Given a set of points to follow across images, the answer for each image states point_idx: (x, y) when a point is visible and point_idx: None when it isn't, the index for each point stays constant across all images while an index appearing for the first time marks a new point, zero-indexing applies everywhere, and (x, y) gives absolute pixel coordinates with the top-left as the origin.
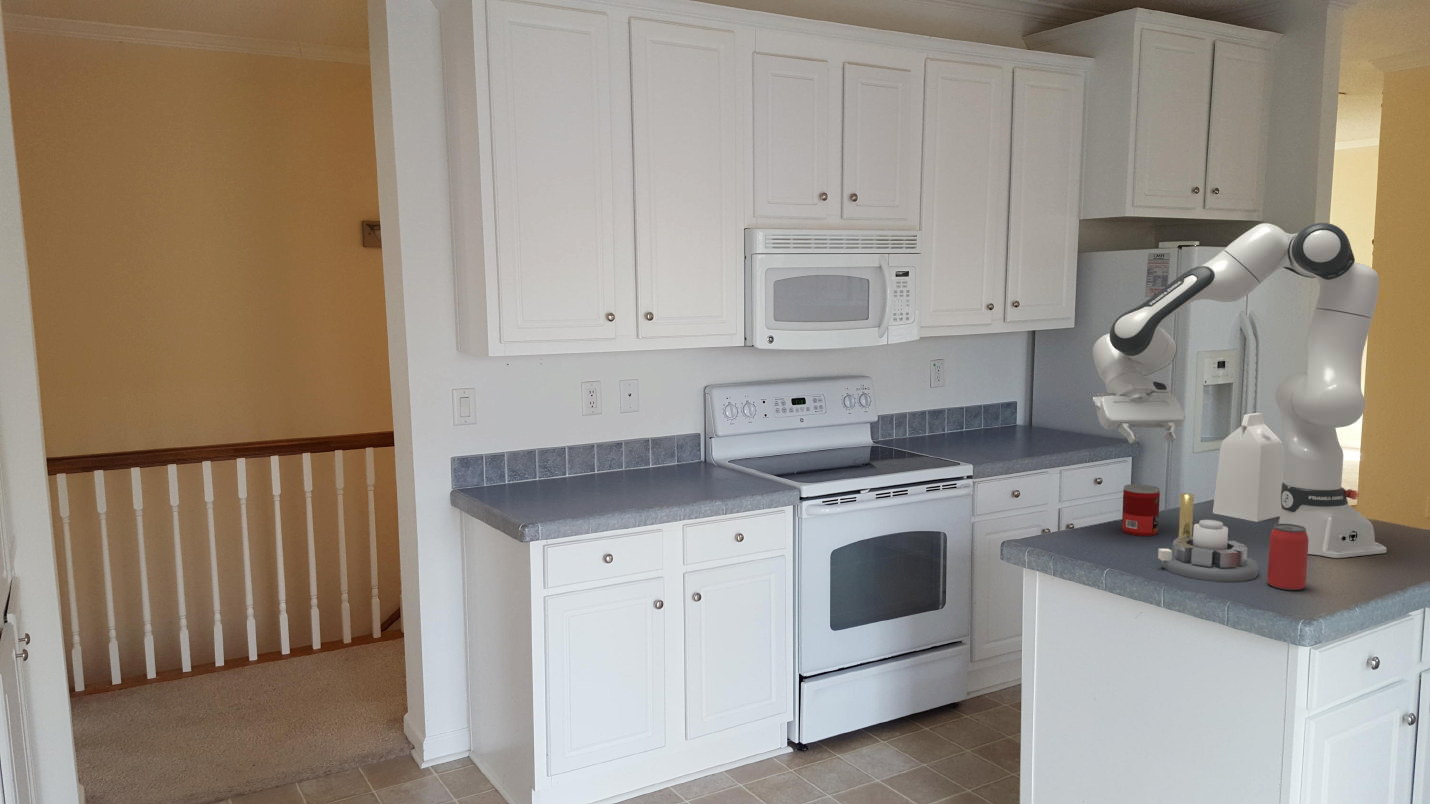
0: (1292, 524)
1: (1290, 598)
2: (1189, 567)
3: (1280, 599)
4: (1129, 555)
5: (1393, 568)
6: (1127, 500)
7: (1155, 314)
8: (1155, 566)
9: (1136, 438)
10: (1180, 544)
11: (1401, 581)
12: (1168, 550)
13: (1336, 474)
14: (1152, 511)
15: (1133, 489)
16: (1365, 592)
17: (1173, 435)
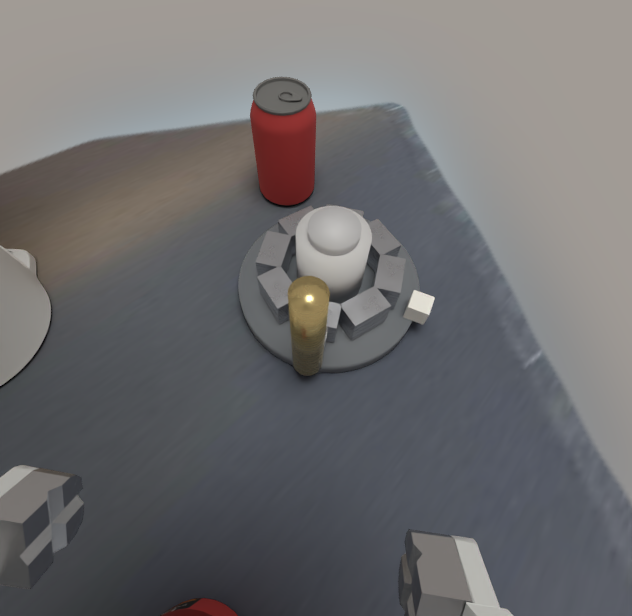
0: (258, 101)
1: (333, 155)
2: (406, 257)
3: (350, 157)
4: (419, 431)
5: (22, 191)
6: None
7: None
8: (418, 339)
9: (433, 534)
10: (395, 280)
11: (100, 152)
12: (417, 296)
13: None
14: (187, 612)
15: None
16: (207, 140)
17: (14, 480)
